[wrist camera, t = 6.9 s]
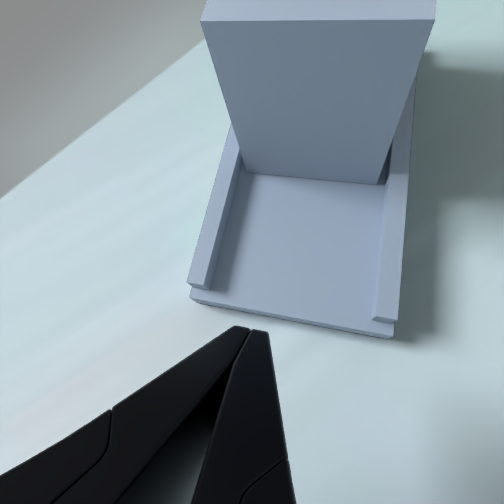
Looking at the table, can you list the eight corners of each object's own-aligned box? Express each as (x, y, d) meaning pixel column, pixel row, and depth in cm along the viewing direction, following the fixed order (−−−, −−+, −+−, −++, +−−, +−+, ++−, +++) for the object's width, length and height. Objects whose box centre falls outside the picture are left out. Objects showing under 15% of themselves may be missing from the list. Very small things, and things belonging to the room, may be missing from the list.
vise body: (386, 339, 15) (460, 306, 8) (196, 302, 17) (112, 249, 9) (411, 50, 20) (469, -132, 13) (264, 48, 22) (242, -110, 15)
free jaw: (376, 184, 16) (435, 19, 8) (246, 172, 17) (199, 21, 10) (380, 144, 17) (438, -41, 9) (256, 135, 18) (218, -32, 11)
